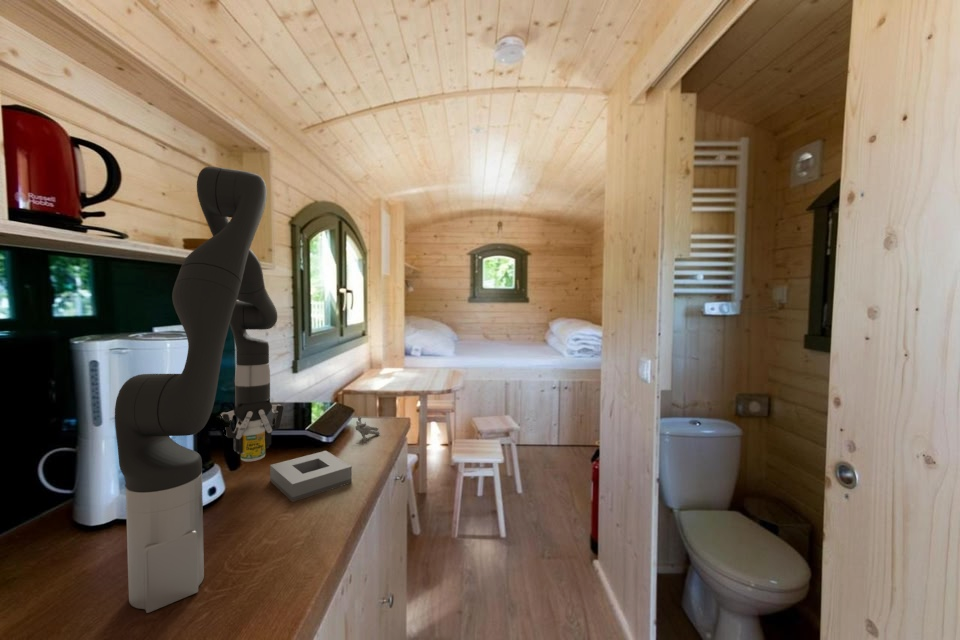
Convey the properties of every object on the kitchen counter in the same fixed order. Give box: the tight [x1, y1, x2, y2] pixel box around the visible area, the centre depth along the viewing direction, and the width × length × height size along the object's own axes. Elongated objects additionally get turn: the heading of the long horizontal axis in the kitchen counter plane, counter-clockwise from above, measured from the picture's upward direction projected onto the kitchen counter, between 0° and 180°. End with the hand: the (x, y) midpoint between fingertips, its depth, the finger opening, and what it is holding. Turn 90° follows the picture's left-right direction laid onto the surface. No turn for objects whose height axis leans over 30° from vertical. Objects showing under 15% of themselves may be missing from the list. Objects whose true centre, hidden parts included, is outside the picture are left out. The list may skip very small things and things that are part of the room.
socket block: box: [269, 450, 353, 503], centre depth 100 cm, size 14×14×4 cm
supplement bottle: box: [240, 419, 266, 462], centre depth 101 cm, size 5×5×10 cm
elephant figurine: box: [355, 415, 381, 444], centre depth 132 cm, size 10×6×9 cm
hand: (253, 449), depth 101 cm, fingers closed on supplement bottle, 5 cm apart
